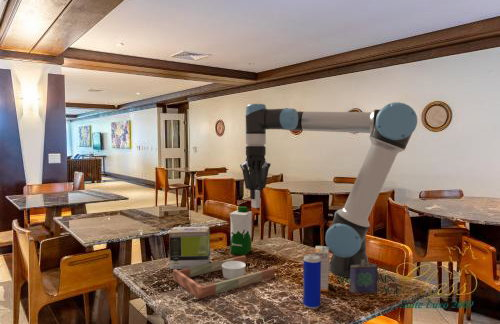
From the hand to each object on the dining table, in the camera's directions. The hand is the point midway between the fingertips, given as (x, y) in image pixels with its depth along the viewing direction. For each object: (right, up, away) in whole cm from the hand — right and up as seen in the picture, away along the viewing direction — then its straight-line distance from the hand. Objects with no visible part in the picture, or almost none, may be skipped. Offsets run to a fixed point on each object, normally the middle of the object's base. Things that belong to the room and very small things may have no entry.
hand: (255, 207), depth 138 cm
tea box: (-26, -24, +7) cm, 36 cm away
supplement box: (+22, -26, -15) cm, 37 cm away
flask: (+35, -26, -19) cm, 47 cm away
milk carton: (-6, -23, +24) cm, 34 cm away
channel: (-11, -25, -7) cm, 28 cm away
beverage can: (+17, -26, -29) cm, 42 cm away
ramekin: (-8, -25, -5) cm, 27 cm away
